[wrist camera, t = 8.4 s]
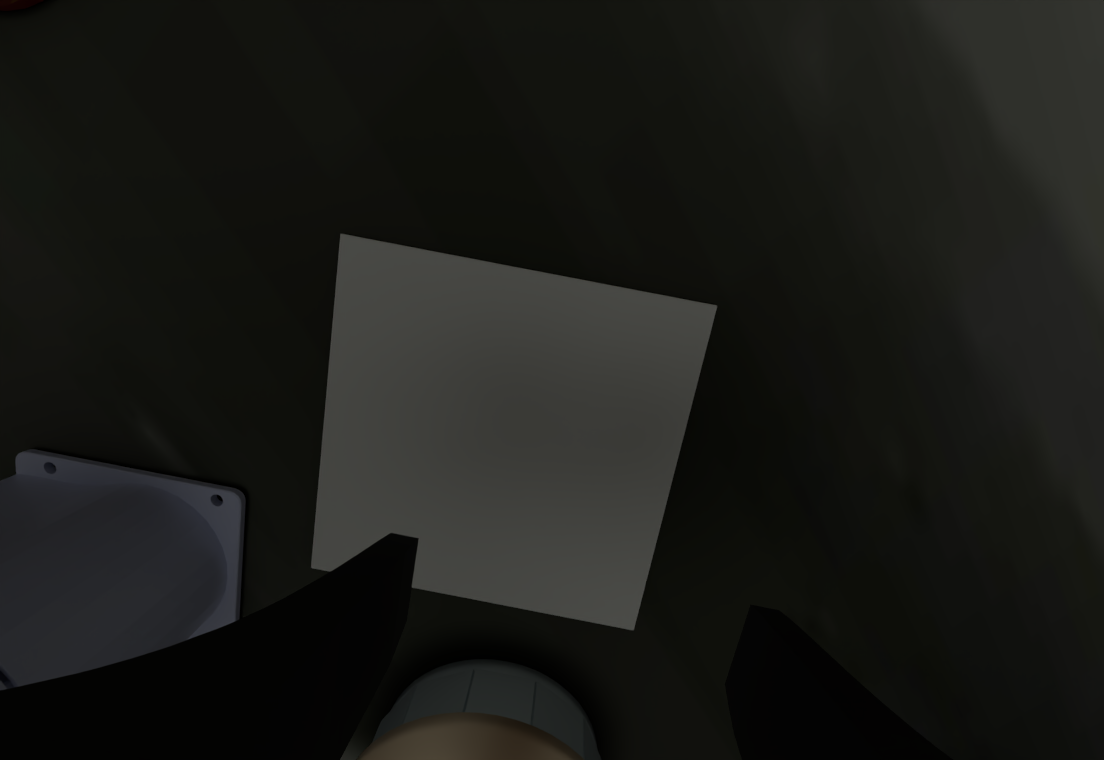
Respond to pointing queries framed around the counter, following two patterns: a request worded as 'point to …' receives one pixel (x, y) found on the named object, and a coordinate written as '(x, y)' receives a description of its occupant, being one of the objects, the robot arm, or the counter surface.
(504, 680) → the bowl
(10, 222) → the counter surface
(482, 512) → the mat
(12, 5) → the canned food
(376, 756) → the lid
